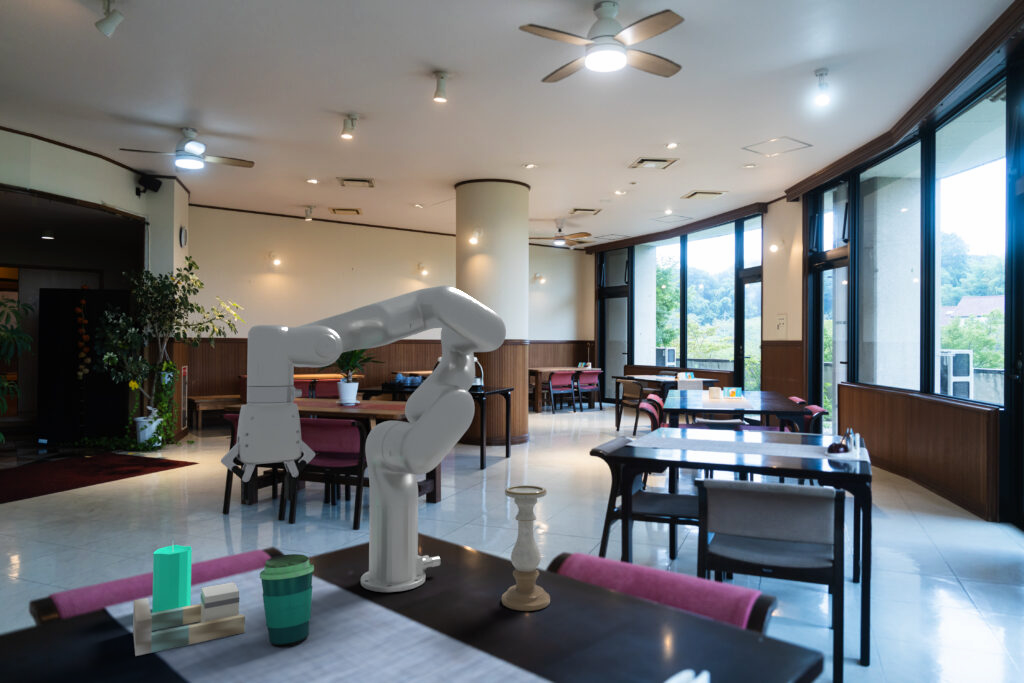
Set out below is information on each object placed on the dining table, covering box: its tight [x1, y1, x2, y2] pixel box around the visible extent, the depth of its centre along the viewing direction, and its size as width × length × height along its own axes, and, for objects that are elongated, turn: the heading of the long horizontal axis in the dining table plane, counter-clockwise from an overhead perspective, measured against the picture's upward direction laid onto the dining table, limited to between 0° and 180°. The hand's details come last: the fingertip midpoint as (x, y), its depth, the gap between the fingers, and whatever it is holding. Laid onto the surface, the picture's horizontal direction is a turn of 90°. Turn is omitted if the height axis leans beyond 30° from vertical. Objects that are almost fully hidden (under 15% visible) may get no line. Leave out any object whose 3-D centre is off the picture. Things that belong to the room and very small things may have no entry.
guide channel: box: [132, 597, 246, 657], centre depth 100 cm, size 15×10×5 cm, turn 123°
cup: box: [259, 553, 315, 648], centre depth 98 cm, size 8×8×12 cm
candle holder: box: [501, 484, 551, 612], centre depth 113 cm, size 9×9×20 cm
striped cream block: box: [200, 581, 240, 623], centre depth 103 cm, size 5×5×6 cm
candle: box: [151, 541, 193, 613], centre depth 110 cm, size 6×6×12 cm
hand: (269, 500), depth 107 cm, fingers open, 5 cm apart
